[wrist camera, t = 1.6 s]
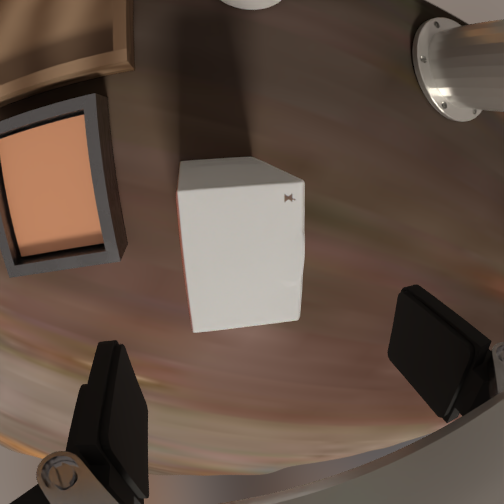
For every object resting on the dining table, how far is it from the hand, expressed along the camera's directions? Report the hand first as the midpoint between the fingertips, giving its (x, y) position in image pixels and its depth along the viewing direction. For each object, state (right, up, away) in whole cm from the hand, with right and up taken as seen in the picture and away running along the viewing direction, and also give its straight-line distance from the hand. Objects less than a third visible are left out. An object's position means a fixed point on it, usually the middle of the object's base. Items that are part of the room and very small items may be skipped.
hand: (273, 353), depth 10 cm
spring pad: (-17, +9, +13) cm, 23 cm away
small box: (-4, +8, +18) cm, 20 cm away
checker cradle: (-18, +9, +14) cm, 24 cm away
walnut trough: (-19, +23, +9) cm, 31 cm away
